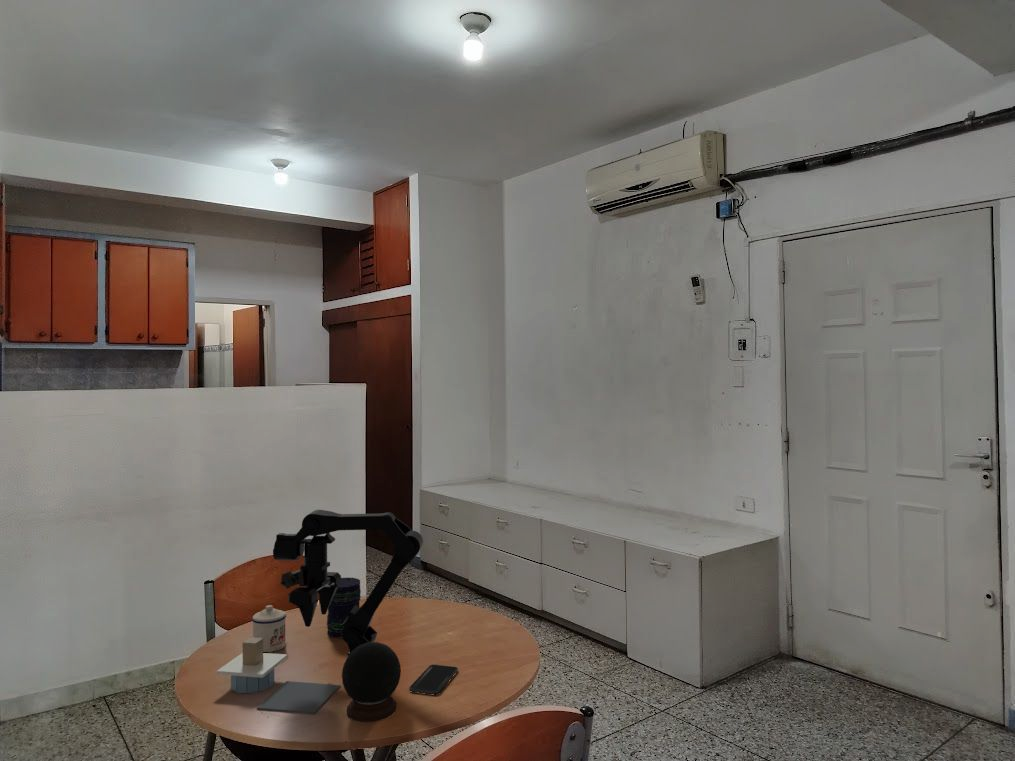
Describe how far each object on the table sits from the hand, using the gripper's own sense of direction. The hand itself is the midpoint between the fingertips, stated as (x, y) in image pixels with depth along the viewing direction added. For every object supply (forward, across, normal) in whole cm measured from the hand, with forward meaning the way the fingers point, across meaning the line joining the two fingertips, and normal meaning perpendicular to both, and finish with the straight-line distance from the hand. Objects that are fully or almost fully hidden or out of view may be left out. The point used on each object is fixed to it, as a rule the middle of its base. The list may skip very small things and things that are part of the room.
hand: (316, 620), depth 177 cm
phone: (+14, +1, +32) cm, 35 cm away
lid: (+8, +10, -12) cm, 18 cm away
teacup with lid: (+13, -14, -20) cm, 28 cm away
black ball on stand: (+13, +18, +22) cm, 31 cm away
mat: (+13, +15, +3) cm, 20 cm away
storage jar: (+13, -27, -4) cm, 30 cm away
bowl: (+13, +10, -12) cm, 20 cm away
